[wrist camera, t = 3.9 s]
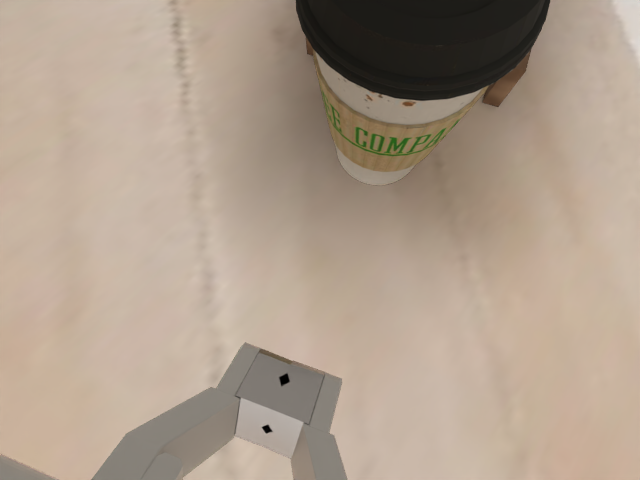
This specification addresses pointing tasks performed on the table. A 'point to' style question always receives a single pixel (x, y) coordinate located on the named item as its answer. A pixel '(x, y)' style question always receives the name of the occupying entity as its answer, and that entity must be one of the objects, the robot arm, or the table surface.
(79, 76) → the table surface
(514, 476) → the table surface
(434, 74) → the coffee cup
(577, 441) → the table surface
